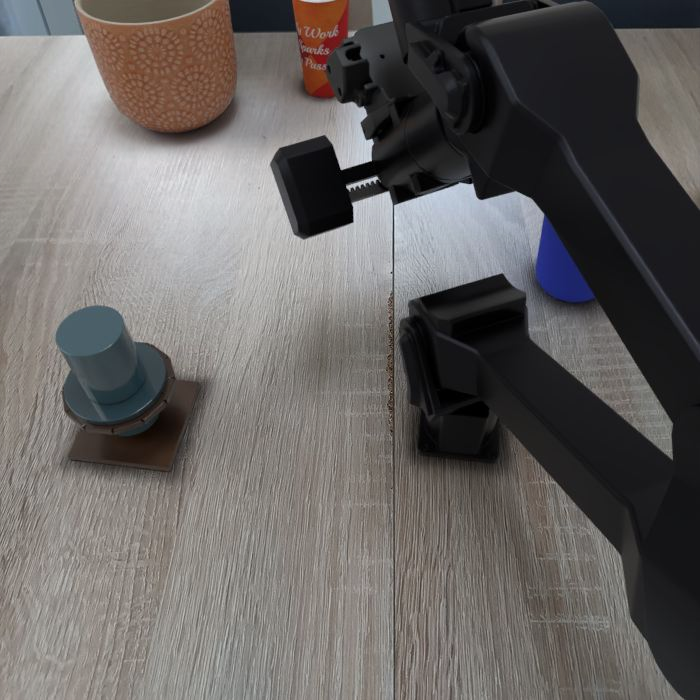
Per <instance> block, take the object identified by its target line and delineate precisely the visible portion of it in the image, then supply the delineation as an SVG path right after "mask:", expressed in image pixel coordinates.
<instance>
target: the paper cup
mask: <svg viewBox="0 0 700 700" xmlns="http://www.w3.org/2000/svg"><path fill="white" fill-rule="evenodd" d="M291 1H292V2H291V3H292V8H293V16H294V21H295V29H296V35H297V41H298V43H297V44H298V49H299V56H300V63H301V70H302V75H303V76H302V77H303V81H304V88H305V91H306V92H307V94H309V95H311V96H312V97H317V98H321V99H322V98H323V99H325V98H333V97H336V96H335V94H334V92H333V90H332V88H331V85H330V83H329V81H328V79H327V76H326V64H327V58H328V56H329V55H330V54H331V53H332V52H333V49H334V48H335V47H339V46H340V45H341V40H342V39H345V38H349V14H350V13H349V12H350V0H291Z"/></svg>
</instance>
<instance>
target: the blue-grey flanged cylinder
mask: <svg viewBox="0 0 700 700" xmlns="http://www.w3.org/2000/svg"><path fill="white" fill-rule="evenodd" d="M54 341H55V344H56V347H57V349H58V350H59V352H60V353H61V356H62V357H63V358H64V360H65V362H66V363H67V365H68V367H69V368H70V370H69V372H68V374H67V376H66V379H65V382H64V384H65V386H64V396H65V400H66V403H67V405H68V406H69V408H70V410H71V411H72V412H73V413H74V415H76V416H77V417H78V418H80V419H81V420H83V421H85V422H88V423H91V424H95V425H115V424H120V423H124V422H127V421H130V420H132V419H134V418H136V417H138V416H140V415H142V414H143V413H144V412H146V411H147V410H148V409H150V408H151V407H152V406H153V405H154V404H155V403H156V402H157V400H158V399H159V398H160V396H161V394H162V393H163V391H164V388H165V386H166V382H167V369H166V366H165V363H164V361H163V359H162V357H161V356H160V354H159V353H158V352H157V351H156V350H155V349H153V348H152V347H150V346H148V345H146V344H143V343H140V342H141V341H134V339H133V337H132V335H131V332H130V331H129V328H128V326H127V323H126V322H125V319H124V316H123V315H122V314H121V313H120V312H119V311H118V310H116V309H115V308H113V307H110V306H107V305H99V304H98V305H89V306H85V307H81V308H79V309H77V310H75V311H73V312H72V313H70V314H68V315H67V316H66V317H65V318H64V319H63V320H62V321H61V322H60V324H59V325H58V326H57V329H56V330H55V339H54ZM159 414H160V412H159V413H158V414H157V415H156V416H155V417H154V418H153V419H152V420H150V421H149V422H148V423H147V424H145V423H144V422H143V426H141V427H138V428H135V429H132V430H129V431H126V432H123V433H120V434H115V432H114V434H115V435H119V436H132V435H136V434H139V433H141V432H143V431H145V430H147V429H148V428H149V427H151V426H152V425H153V424H154V423H155V421H156V420H157V418H158V416H159Z"/></svg>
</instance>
